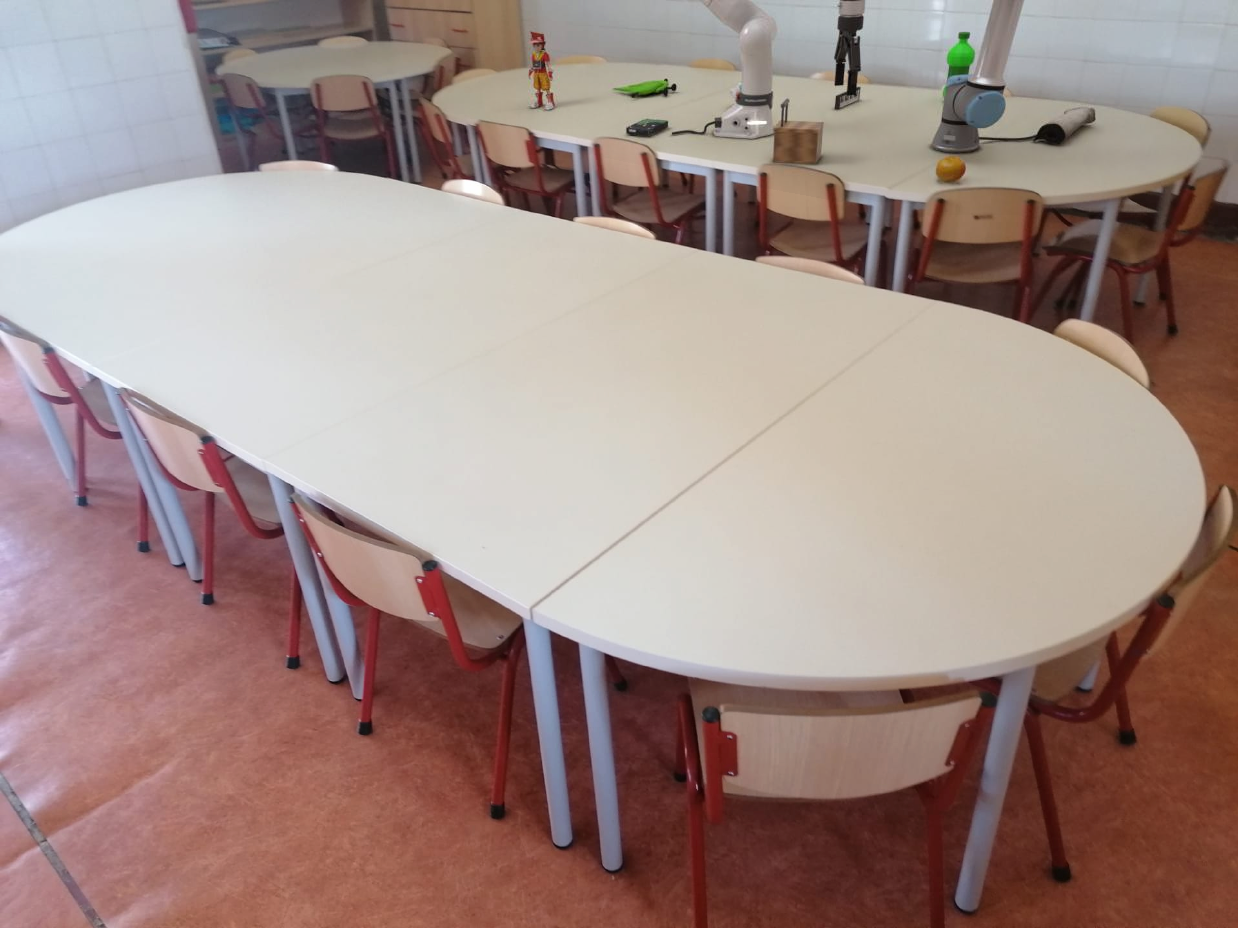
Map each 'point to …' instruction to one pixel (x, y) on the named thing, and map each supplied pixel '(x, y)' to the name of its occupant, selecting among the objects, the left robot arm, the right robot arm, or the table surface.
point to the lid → (795, 123)
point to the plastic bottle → (960, 57)
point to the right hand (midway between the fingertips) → (844, 90)
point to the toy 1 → (541, 71)
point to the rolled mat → (1065, 125)
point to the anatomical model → (735, 89)
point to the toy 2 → (648, 88)
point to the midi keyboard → (846, 98)
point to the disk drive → (647, 127)
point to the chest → (797, 147)
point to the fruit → (950, 169)
